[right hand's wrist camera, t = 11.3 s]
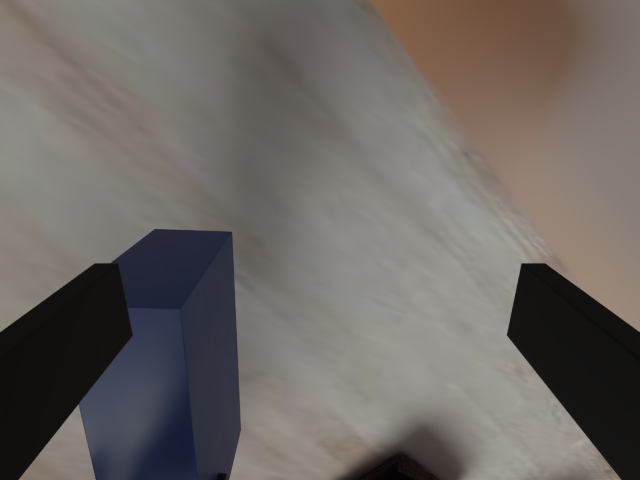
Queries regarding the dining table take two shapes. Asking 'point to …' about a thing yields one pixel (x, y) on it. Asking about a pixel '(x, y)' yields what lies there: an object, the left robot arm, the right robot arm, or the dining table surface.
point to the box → (171, 365)
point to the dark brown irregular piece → (400, 470)
